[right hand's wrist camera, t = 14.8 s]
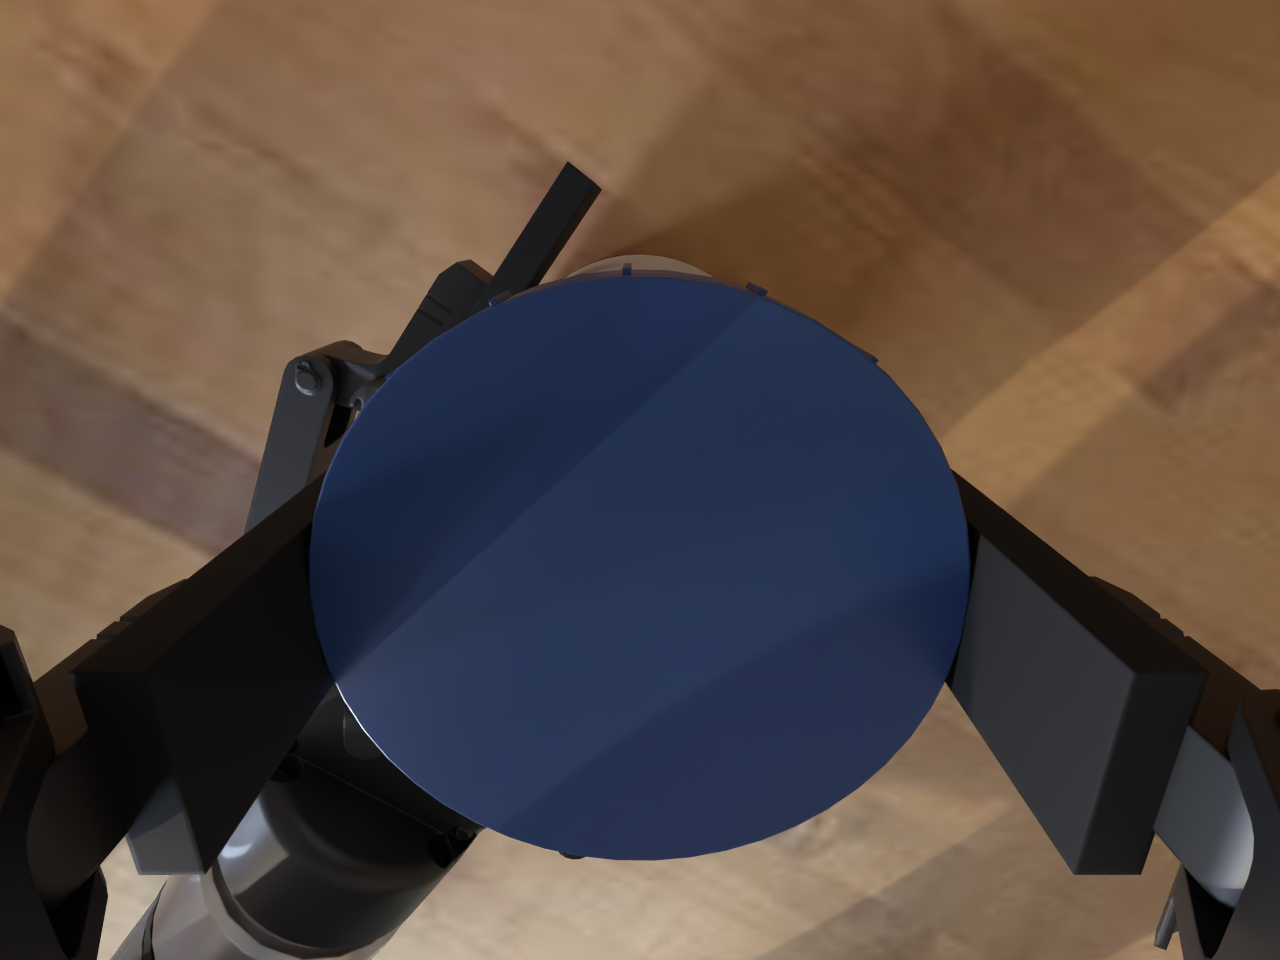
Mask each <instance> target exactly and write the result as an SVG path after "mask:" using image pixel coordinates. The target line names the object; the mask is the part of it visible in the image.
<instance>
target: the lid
mask: <svg viewBox="0 0 1280 960" xmlns="http://www.w3.org/2000/svg"><path fill="white" fill-rule="evenodd" d="M766 294H767V290H765V289H763V288H762V287H760V286H758V285H756V284H753V283H751V282H748V284H747V287H743V286H740V285H737V284H733V283H730V282H727V281H723V280H720V279H717V278H713V277H709V276H703V275H696V274H690V273H683V272H677V271H671V270H639V269H632V264H631V263H625V264H624V266H623V268H622V269H621V270H612V271H604V272H596V273H588V274H579V275H575V276H572V277H568V278H564V279H560V280H556V281H553V282H549V283H545V284H541V285H537V286H535V287H532V288H530V289H528V290H525V291H523V292H521V293H518V294H516V295H513V296H512V295H511V293H510V291H506V292H504V293H502V294H500V295H498V296H496V297H494V298H492V299H490V300H489V303H490V305H491V306H489V307H488V308H486V309H484V310H482V311H480V312H478V313H476V314H475V315H473V316H471V317H470V318H468V319H466V320H465V321H463V322H461V323H459V324H458V325H456V326H454V327H453V328H451V329H449V330H448V331H446V332H444V333H443V334H441V335H439V336H438V337H436V338H434V339H433V340H432V341H430V342H429V343H428V344H427V345H426V346H424V347H423V348H422V349H421V350H419V351H418V352H417V353H416V354H414V355H413V356H412V357H411V358H410V359H408V360H407V361H406V362H405V363H403V364H402V365H401V366H399V367H397V368H396V369H394V370H392V371H390V372H389V373H388V374H387V375H386V376H385V379H386V381H385V383H384V384H383V385H382V386H381V387H380V388H379V389H378V390H377V391H376V392H375V393H374V395H373V396H372V397H371V398H370V399H369V400H368V401H367V402H366V404H365V405H364V407H363V408H362V410H361V411H360V413H359V414H358V416H357V417H356V419H355V420H354V422H353V423H352V425H351V426H350V428H349V429H348V431H347V432H346V434H345V435H344V437H343V439H342V441H341V443H340V445H339V447H338V449H337V451H336V454H335V456H334V458H333V460H332V462H331V464H330V466H329V468H328V471H327V473H326V475H325V478H324V481H323V485H322V488H321V492H320V495H319V498H318V502H317V505H316V509H315V512H314V517H313V524H312V532H311V540H310V547H309V594H310V600H311V605H312V610H313V616H314V621H315V627H316V632H317V636H318V639H319V642H320V645H321V648H322V652H323V655H324V658H325V661H326V664H327V667H328V669H329V671H330V673H331V675H332V677H333V679H334V681H335V683H336V685H337V687H338V689H339V692H340V694H341V696H342V698H343V700H344V701H345V703H346V704H347V706H348V707H349V709H350V710H351V712H352V713H353V715H354V716H355V718H356V719H357V721H358V723H359V724H360V726H361V727H362V729H363V730H364V731H365V733H366V734H367V735H368V736H369V737H370V738H371V740H372V741H373V742H374V743H375V744H376V745H377V747H378V748H379V749H380V750H381V751H382V752H383V754H384V755H385V756H386V757H387V758H388V759H389V760H390V761H391V762H392V763H393V764H394V765H395V766H397V767H398V768H399V769H400V770H401V771H402V772H403V773H404V774H405V775H406V776H407V777H409V778H410V779H411V780H412V781H413V782H414V783H415V784H417V785H418V786H419V787H421V788H422V789H424V790H425V791H426V792H428V793H429V794H430V795H432V796H433V797H435V798H436V799H437V800H439V801H440V802H441V803H443V804H444V805H446V806H448V807H449V808H451V809H453V810H455V811H457V812H458V813H460V814H462V815H464V816H465V817H467V818H469V819H471V820H472V821H474V822H476V823H478V824H480V825H483V826H485V827H487V828H490V829H492V830H494V831H496V832H499V833H501V834H503V835H506V836H508V837H510V838H514V839H517V840H520V841H523V842H526V843H529V844H532V845H535V846H539V847H542V848H545V849H550V850H555V851H559V852H564V853H569V854H574V855H578V856H585V857H594V858H604V859H613V860H664V859H676V858H687V857H694V856H700V855H705V854H710V853H716V852H721V851H726V850H730V849H733V848H737V847H740V846H743V845H747V844H750V843H754V842H757V841H761V840H763V839H766V838H768V837H771V836H773V835H776V834H778V833H780V832H783V831H785V830H788V829H790V828H793V827H795V826H797V825H799V824H801V823H803V822H805V821H806V820H808V819H810V818H812V817H814V816H816V815H818V814H820V813H821V812H823V811H825V810H827V809H829V808H830V807H832V806H833V805H834V804H836V803H837V802H839V801H840V800H842V799H843V798H845V797H846V796H848V795H849V794H851V793H852V792H853V791H855V790H856V789H858V788H859V787H860V786H861V785H862V784H864V783H865V782H866V781H867V780H868V779H869V778H870V777H872V776H873V775H874V774H875V773H876V772H877V771H879V770H880V769H881V768H882V767H883V766H884V765H885V764H886V763H887V762H888V761H889V760H890V759H891V758H892V757H893V756H894V755H895V753H896V752H897V751H898V750H899V749H900V748H901V747H902V746H903V745H904V744H905V743H906V741H907V740H908V739H909V738H910V737H911V735H912V734H913V733H914V731H915V730H916V728H917V727H918V726H919V724H920V723H921V721H922V720H923V718H924V717H925V716H926V714H927V713H928V711H929V710H930V708H931V707H932V705H933V703H934V701H935V699H936V697H937V696H938V694H939V692H940V690H941V688H942V686H943V684H944V682H945V680H946V678H947V676H948V675H949V672H950V669H951V666H952V663H953V661H954V658H955V655H956V652H957V650H958V647H959V644H960V641H961V638H962V633H963V628H964V623H965V618H966V613H967V608H968V603H969V590H970V572H971V559H970V548H969V538H968V527H967V521H966V517H965V513H964V509H963V505H962V501H961V497H960V493H959V490H958V486H957V483H956V481H955V478H954V476H953V474H952V471H951V469H950V466H949V464H948V462H947V459H946V457H945V455H944V452H943V450H942V448H941V446H940V444H939V442H938V441H937V439H936V438H935V436H934V434H933V433H932V431H931V429H930V428H929V426H928V425H927V423H926V421H925V420H924V418H923V417H922V415H921V413H920V412H919V410H918V409H917V408H916V407H915V405H914V404H913V403H912V402H911V401H910V399H909V398H908V397H907V396H906V395H905V394H904V392H903V391H902V390H901V389H900V388H899V387H898V385H897V384H896V383H895V382H894V381H893V380H892V378H891V377H890V376H889V375H888V374H887V373H886V372H884V371H883V370H882V369H881V368H880V367H879V366H877V365H876V363H877V362H878V359H877V358H876V357H874V356H873V355H871V354H869V353H868V352H866V351H864V350H862V349H860V348H859V347H857V346H855V345H853V344H851V343H850V342H848V341H847V340H845V339H844V338H842V337H841V336H839V335H837V334H836V333H834V332H833V331H831V330H830V329H828V328H827V327H825V326H824V325H822V324H820V323H819V322H817V321H816V320H814V319H812V318H810V317H808V316H807V315H805V314H803V313H801V312H799V311H797V310H796V309H794V308H792V307H790V306H788V305H786V304H783V303H781V302H779V301H777V300H775V299H773V298H770V297H768V296H766Z"/></svg>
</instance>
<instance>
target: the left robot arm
mask: <svg viewBox="0 0 1280 960" xmlns="http://www.w3.org/2000/svg"><path fill="white" fill-rule="evenodd" d="M601 190H602V189H601V188H600V187H599V186H598V185H597V184H596V183H594V182H593V181H592V180H591V179H589V178H588V177H587V176H585V175H584V174H583V173H582V172H580V171H579V170H578V169H577V168H575V167H574V166H573V165H572V164H570V163H569V162H567V163H566V165H565V166H564V168H563V169H562V171H561V172H560V174H559V175H558V177H557V179H556V180H555V182H554V183H553V185H552V186H551V188H550V189H549V191H548V193H547V194H546V196H545V197H544V199H543V200H542V202H541V203H540V205H539V207H538V208H537V210H536V211H535V213H534V214H533V216H532V217H531V219H530V221H529V222H528V224H527V225H526V227H525V228H524V230H523V231H522V233H521V235H520V236H519V238H518V239H517V241H516V242H515V244H514V245H513V247H512V248H511V250H510V252H509V253H508V255H507V256H506V258H505V259H504V261H503V262H502V264H501V266H500V267H499V269H498V270H497V272H496V273H495V275H494V276H492V275H491V274H490V273H488V272H487V271H486V270H484V269H483V268H482V267H480V266H479V265H477V264H476V263H475V262H473V261H472V260H471V259H470V260H465V261H460V262H456V263H455V264H454V265H452V266H451V267H449V268H448V269H446V270H445V271H443V272H442V273H440V274H439V275H438V277H437V278H436V280H435V282H434V283H433V285H432V287H431V288H430V290H429V291H428V294H427V295H426V296H425V298H424V300H423V301H422V303H421V304H420V306H419V308H418V310H417V311H416V312H415V314H414V316H413V317H412V319H411V321H410V322H409V324H408V325H407V327H406V329H405V330H404V332H403V334H402V335H401V337H400V338H399V340H398V342H397V343H396V345H395V347H394V348H393V350H392V351H391V353H390V354H389V355H381V354H376V353H372V352H369V351H366V350H363V349H362V348H361V347H360V346H359V345H357V344H355V343H354V342H351V341H346V340H343V341H338V342H335V343H332V344H329V345H327V346H324V347H322V348H319V349H316V350H314V351H311V352H309V353H306V354H303V355H301V356H298V357H296V358H294V359H293V360H291V361H290V362H289V363H288V364H287V366H286V368H285V370H284V374H283V378H282V382H281V386H280V390H279V394H278V398H277V402H276V406H275V410H274V414H273V418H272V422H271V427H270V431H269V435H268V439H267V443H266V447H265V451H264V455H263V459H262V463H261V467H260V471H259V475H258V479H257V483H256V487H255V491H254V495H253V499H252V503H251V507H250V511H249V515H248V519H247V523H246V528H245V532H244V534H246V533H247V532H248V531H250V530H251V529H252V528H253V527H255V526H256V525H257V524H259V523H260V522H261V521H262V520H264V519H265V518H266V517H267V516H269V515H270V514H271V513H273V512H274V511H275V510H276V509H278V508H279V507H280V506H282V505H283V504H284V503H285V502H287V501H288V500H289V499H290V498H292V497H293V496H294V495H296V494H297V493H298V492H299V491H301V490H302V489H303V488H304V487H306V486H307V485H308V484H310V483H311V482H312V481H313V480H315V479H316V478H317V477H319V476H320V475H321V474H322V473H324V472H325V471H326V470H327V469H328V468H329V466H330V464H331V462H332V460H333V458H334V456H335V454H336V451H337V449H338V447H339V445H340V443H341V441H342V439H343V437H344V435H345V434H346V432H347V431H348V429H349V428H350V426H351V425H352V423H353V422H354V419H355V415H356V412H357V410H358V411H361V410H362V408H363V407H364V405H365V404H366V402H367V401H368V400H369V399H370V398H371V397H372V396H373V395H374V393H375V392H376V391H377V390H378V389H379V388H380V387H381V386H382V385H383V384H384V383H385V381H386V379H385V376H386V375H387V374H388V373H389V372H390V371H392V370H394V369H396V368H397V367H399V366H401V365H402V364H403V363H405V362H406V361H407V360H408V359H410V358H411V357H412V356H413V355H414V354H416V353H417V352H418V351H419V350H421V349H422V348H423V347H424V346H426V345H427V344H428V343H429V342H430V341H432V340H433V339H434V338H436V337H438V336H439V335H441V334H443V333H444V332H446V331H448V330H449V329H451V328H453V327H454V326H456V325H458V324H459V323H461V322H463V321H465V320H466V319H468V318H470V317H471V316H473V315H475V314H476V313H478V312H480V311H482V310H484V309H486V308H488V307H489V306H491V305H490V303H489V300H490V299H492V298H494V297H496V296H498V295H500V294H502V293H504V292H506V291H510V293H511V295H512V296H513V295H516V294H518V293H521V292H523V291H525V290H528V289H530V288H532V287H535V286H537V285H538V284H539V283H540V281H541V280H542V278H543V277H544V275H545V274H546V272H547V271H548V269H549V268H550V266H551V265H552V263H553V262H554V260H555V259H556V257H557V256H558V254H559V253H560V251H561V250H562V248H563V247H564V245H565V244H566V242H567V241H568V239H569V238H570V237H571V235H572V234H573V232H574V231H575V229H576V228H577V226H578V225H579V223H580V222H581V220H582V219H583V217H584V216H585V214H586V213H587V211H588V210H589V208H590V207H591V205H592V204H593V202H594V201H595V199H596V198H597V196H598V195H599V193H600V192H601ZM485 828H487V827H485V826H483V825H480V824H478V823H476V822H474V821H472V820H471V819H469V818H467V817H465V816H464V815H462V814H460V813H458V812H457V811H455V810H453V809H451V808H449V807H448V806H446V805H444V804H443V803H441V802H440V801H439V800H437V799H436V798H435V797H433V796H432V795H430V794H429V793H428V792H426V791H425V790H424V789H422V788H421V787H419V786H418V785H417V784H415V783H414V782H413V781H412V780H411V779H410V778H409V777H407V776H406V775H405V774H404V773H403V772H402V771H401V770H400V769H399V768H398V767H397V766H395V765H394V764H393V763H392V762H391V761H390V760H389V759H388V758H387V757H386V756H385V755H384V754H383V752H382V751H381V750H380V749H379V748H378V747H377V745H376V744H375V743H374V742H373V741H372V740H371V738H370V737H369V736H368V735H367V734H366V733H365V731H364V730H363V729H362V727H361V726H360V724H359V723H358V721H357V719H356V718H355V716H354V715H353V713H352V712H351V710H350V709H349V707H348V706H347V704H346V703H345V701H344V700H343V698H342V696H341V694H340V692H339V689H338V687H337V685H336V683H335V682H334V683H333V685H332V686H331V688H330V689H329V691H328V692H327V694H326V695H325V697H324V698H323V700H322V701H321V703H320V704H319V706H318V707H317V709H316V710H315V712H314V713H313V715H312V716H311V718H310V719H309V721H308V722H307V724H306V725H305V727H304V728H303V730H302V731H301V733H300V734H299V736H298V737H297V739H296V740H295V742H294V743H293V745H292V746H291V748H290V749H289V751H288V752H287V754H286V755H285V757H284V758H283V760H282V761H281V763H280V764H279V766H278V767H277V768H276V770H275V771H274V773H273V774H272V776H271V777H270V779H269V780H268V782H267V783H266V785H265V786H264V788H263V789H262V791H261V792H260V794H259V795H258V797H257V798H256V800H255V801H254V803H253V804H252V806H251V807H250V809H249V810H248V812H247V813H246V815H245V816H244V818H243V819H242V821H241V822H240V824H239V825H238V827H237V828H236V830H235V831H234V833H233V834H232V836H231V837H230V839H229V840H228V842H227V843H226V845H225V846H224V848H223V849H222V851H221V852H220V854H219V855H218V857H217V858H216V860H215V861H214V863H213V864H212V866H211V867H210V869H209V870H208V872H207V873H206V875H170V876H169V878H168V879H167V881H166V882H165V884H164V885H163V887H162V888H161V890H160V892H159V894H158V896H157V898H156V899H155V900H154V902H153V903H152V904H151V906H150V907H149V908H148V910H147V911H146V912H145V914H144V915H143V916H142V918H141V919H140V920H139V922H138V923H137V924H136V926H135V927H134V928H133V930H132V931H131V932H130V934H129V935H128V936H127V938H126V939H125V940H124V942H123V943H122V944H121V946H120V947H119V949H118V950H117V951H116V953H115V954H114V956H113V957H112V958H111V959H110V960H372V959H373V957H374V956H375V955H376V954H377V953H378V952H379V951H380V950H381V949H382V948H383V947H384V946H385V944H386V943H387V942H388V941H389V940H390V939H391V938H392V936H393V935H394V934H395V932H396V931H397V930H398V928H399V927H400V926H401V924H402V923H403V922H404V921H405V920H406V919H407V918H408V917H409V916H410V915H411V914H412V913H413V912H414V910H415V909H416V908H417V907H418V906H419V905H420V904H421V902H422V901H423V900H424V899H425V898H426V897H427V896H428V894H429V893H430V892H431V891H432V890H433V889H434V888H435V886H436V885H437V884H438V883H439V882H440V881H441V880H442V878H443V877H444V876H445V875H446V874H447V873H448V872H449V870H450V869H451V868H452V867H453V866H454V865H455V864H456V862H457V861H458V860H459V859H460V858H461V856H462V855H463V854H464V853H465V851H466V850H467V849H468V847H469V846H470V845H471V843H472V842H473V840H474V839H475V838H476V836H477V835H478V834H479V833H480V832H481V831H482V830H484V829H485ZM559 853H560V854H561V855H563V856H564V857H566V858H570V859H581V858H584V857H585V856H578V855H574V854H569V853H564V852H559Z"/></svg>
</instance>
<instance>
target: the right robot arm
mask: <svg viewBox="0 0 1280 960" xmlns="http://www.w3.org/2000/svg"><path fill="white" fill-rule="evenodd" d="M950 469H951V468H950ZM327 471H328V469H327V470H326V471H325V472H324V473H322V474H321V475H320V476H319V477H317V478H316V479H315V480H313V481H312V482H311V483H310V484H308V485H307V486H306V487H304V488H303V489H302V490H301V491H299V492H298V493H297V494H296V495H294V496H293V497H292V498H290V499H289V500H288V501H287V502H285V503H284V504H283V505H282V506H280V507H279V508H278V509H276V510H275V511H274V512H273V513H271V514H270V515H269V516H267V517H266V518H265V519H264V520H262V521H261V522H260V523H259V524H257V525H256V526H255V527H253V528H252V529H251V530H250V531H248V532H247V533H246V534H244V535H243V536H242V537H241V538H239V539H238V540H237V541H236V542H234V543H233V544H232V545H230V546H229V547H228V548H227V549H225V550H224V551H223V552H222V553H220V554H219V555H218V556H216V557H215V558H214V559H213V560H211V561H210V562H209V563H207V564H206V565H205V566H204V567H202V568H201V569H200V570H199V571H197V572H196V573H195V574H193V575H192V576H191V577H190V578H188V579H184V580H181V581H179V582H177V583H175V584H173V585H171V586H169V587H167V588H165V589H162V590H160V591H158V592H156V593H154V594H152V595H150V596H148V597H146V598H145V599H144V600H142V601H141V602H140V603H138V604H137V605H136V606H134V607H133V608H132V609H130V610H129V611H128V612H126V613H125V614H124V615H122V616H121V617H120V621H119V622H113V623H112V624H110V625H109V626H108V627H106V628H105V629H104V630H103V631H101V632H100V633H99V634H97V638H96V639H91V640H89V641H88V642H87V643H85V644H84V645H83V646H81V647H80V648H79V649H77V650H76V651H75V652H73V653H72V654H71V655H69V656H68V657H67V658H65V659H64V660H63V661H61V662H60V663H59V664H57V665H56V666H55V667H54V668H52V669H51V670H50V671H48V672H47V673H46V674H44V675H43V676H42V677H40V678H39V679H38V680H36V681H35V682H34V683H33V682H32V679H31V676H30V674H29V671H28V668H27V665H26V663H25V660H24V657H23V654H22V652H21V649H20V646H19V644H18V641H17V638H16V635H15V633H14V631H12V630H10V629H8V628H6V627H4V626H2V625H0V960H97V955H98V949H99V944H100V938H101V932H102V927H103V921H104V916H105V910H106V905H107V899H108V893H107V886H106V881H105V878H104V875H103V872H102V870H101V867H100V864H101V863H102V862H103V861H104V860H105V858H106V857H107V856H108V855H109V854H110V853H111V851H112V850H113V849H114V848H115V847H116V845H117V844H118V843H119V842H120V841H121V839H122V838H123V837H124V836H125V837H126V840H127V843H128V846H129V849H130V851H131V854H132V857H133V860H134V863H135V866H136V869H137V872H138V875H206V873H207V872H208V870H209V869H210V867H211V866H212V864H213V863H214V861H215V860H216V858H217V857H218V855H219V854H220V852H221V851H222V849H223V848H224V846H225V845H226V843H227V842H228V840H229V839H230V837H231V836H232V834H233V833H234V831H235V830H236V828H237V827H238V825H239V824H240V822H241V821H242V819H243V818H244V816H245V815H246V813H247V812H248V810H249V809H250V807H251V806H252V804H253V803H254V801H255V800H256V798H257V797H258V795H259V794H260V792H261V791H262V789H263V788H264V786H265V785H266V783H267V782H268V780H269V779H270V777H271V776H272V774H273V773H274V771H275V770H276V768H277V767H278V766H279V764H280V763H281V761H282V760H283V758H284V757H285V755H286V754H287V752H288V751H289V749H290V748H291V746H292V745H293V743H294V742H295V740H296V739H297V737H298V736H299V734H300V733H301V731H302V730H303V728H304V727H305V725H306V724H307V722H308V721H309V719H310V718H311V716H312V715H313V713H314V712H315V710H316V709H317V707H318V706H319V704H320V703H321V701H322V700H323V698H324V697H325V695H326V694H327V692H328V691H329V689H330V688H331V686H332V685H333V683H334V682H335V681H334V679H333V677H332V675H331V673H330V671H329V669H328V667H327V664H326V661H325V658H324V655H323V652H322V648H321V645H320V642H319V639H318V636H317V632H316V627H315V621H314V616H313V610H312V605H311V600H310V594H309V547H310V540H311V532H312V524H313V517H314V512H315V509H316V505H317V502H318V498H319V495H320V492H321V488H322V485H323V481H324V478H325V475H326V473H327ZM951 471H952V474H953V476H954V478H955V481H956V483H957V486H958V490H959V493H960V497H961V501H962V505H963V509H964V513H965V517H966V521H967V527H968V538H969V548H970V559H971V572H970V590H969V603H968V608H967V613H966V618H965V623H964V628H963V633H962V638H961V641H960V644H959V647H958V650H957V652H956V655H955V658H954V661H953V663H952V666H951V669H950V672H949V675H948V676H947V678H946V680H945V682H946V684H947V685H948V687H949V688H950V690H951V691H952V693H953V694H954V696H955V697H956V699H957V700H958V702H959V703H960V705H961V706H962V708H963V709H964V711H965V712H966V714H967V715H968V717H969V718H970V720H971V721H972V723H973V724H974V726H975V727H976V729H977V730H978V732H979V733H980V735H981V736H982V738H983V739H984V741H985V742H986V744H987V745H988V747H989V748H990V750H991V751H992V753H993V754H994V756H995V757H996V759H997V760H998V762H999V763H1000V765H1001V766H1002V768H1003V769H1004V771H1005V772H1006V774H1007V775H1008V777H1009V778H1010V780H1011V781H1012V783H1013V784H1014V786H1015V787H1016V789H1017V790H1018V792H1019V793H1020V795H1021V796H1022V798H1023V799H1024V801H1025V802H1026V804H1027V805H1028V807H1029V808H1030V810H1031V811H1032V813H1033V814H1034V816H1035V817H1036V819H1037V820H1038V822H1039V823H1040V825H1041V826H1042V828H1043V829H1044V831H1045V832H1046V834H1047V835H1048V837H1049V838H1050V840H1051V841H1052V843H1053V844H1054V846H1055V847H1056V849H1057V850H1058V852H1059V853H1060V855H1061V856H1062V858H1063V859H1064V861H1065V862H1066V864H1067V865H1068V867H1069V868H1070V870H1071V871H1072V873H1073V874H1074V875H1141V873H1142V870H1143V867H1144V864H1145V861H1146V858H1147V855H1148V852H1149V850H1150V847H1151V844H1152V841H1153V838H1154V835H1155V833H1156V834H1157V835H1158V836H1159V837H1160V838H1161V840H1162V841H1163V842H1164V843H1165V844H1166V846H1167V847H1168V848H1169V849H1170V850H1171V851H1172V853H1173V854H1174V855H1175V856H1176V857H1177V859H1178V860H1179V861H1180V862H1181V864H1180V867H1179V870H1178V872H1177V875H1176V878H1175V880H1174V883H1173V886H1172V889H1171V891H1170V894H1169V897H1168V900H1167V902H1166V905H1165V908H1164V910H1163V913H1162V916H1161V919H1160V921H1159V924H1158V927H1157V930H1156V935H1155V942H1154V946H1157V947H1159V948H1162V949H1164V950H1166V949H1167V947H1168V944H1169V941H1170V939H1171V936H1172V934H1173V933H1175V932H1177V931H1179V936H1180V941H1181V947H1182V952H1183V958H1184V960H1280V690H1278V689H1272V690H1260V689H1259V688H1258V687H1256V686H1255V685H1254V684H1252V683H1251V682H1250V681H1248V680H1247V679H1246V678H1244V677H1243V676H1242V675H1240V674H1239V673H1238V672H1236V671H1235V670H1234V669H1232V668H1231V667H1230V666H1228V665H1227V664H1226V663H1224V662H1223V661H1222V660H1220V659H1219V658H1218V657H1216V656H1215V655H1214V654H1212V653H1211V652H1210V651H1208V650H1207V649H1206V648H1204V647H1203V646H1202V645H1200V644H1199V643H1198V642H1196V641H1195V640H1194V639H1192V638H1191V637H1190V636H1184V635H1183V631H1181V630H1180V629H1179V628H1177V627H1176V626H1175V625H1173V624H1172V623H1171V622H1169V621H1168V620H1167V619H1161V618H1160V614H1159V613H1157V612H1156V611H1155V610H1153V609H1152V608H1151V607H1149V606H1148V605H1147V604H1145V603H1144V602H1143V601H1141V600H1140V599H1139V598H1137V597H1136V596H1135V595H1133V594H1132V593H1130V592H1127V591H1125V590H1123V589H1121V588H1119V587H1117V586H1115V585H1113V584H1110V583H1108V582H1106V581H1104V580H1102V579H1100V578H1098V577H1089V576H1087V575H1086V574H1085V573H1084V572H1082V571H1081V570H1080V569H1078V568H1077V567H1076V566H1075V565H1073V564H1072V563H1071V562H1069V561H1068V560H1067V559H1066V558H1064V557H1063V556H1062V555H1061V554H1059V553H1058V552H1057V551H1055V550H1054V549H1053V548H1052V547H1050V546H1049V545H1048V544H1047V543H1045V542H1044V541H1043V540H1041V539H1040V538H1039V537H1038V536H1036V535H1035V534H1034V533H1032V532H1031V531H1030V530H1029V529H1027V528H1026V527H1025V526H1024V525H1022V524H1021V523H1020V522H1018V521H1017V520H1016V519H1015V518H1013V517H1012V516H1011V515H1009V514H1008V513H1007V512H1006V511H1004V510H1003V509H1002V508H1001V507H999V506H998V505H997V504H995V503H994V502H993V501H992V500H990V499H989V498H988V497H987V496H985V495H984V494H983V493H981V492H980V491H979V490H978V489H976V488H975V487H974V486H972V485H971V484H970V483H969V482H967V481H966V480H965V479H964V478H962V477H961V476H960V475H958V474H957V473H956V472H955V471H953V470H952V469H951Z"/></svg>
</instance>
